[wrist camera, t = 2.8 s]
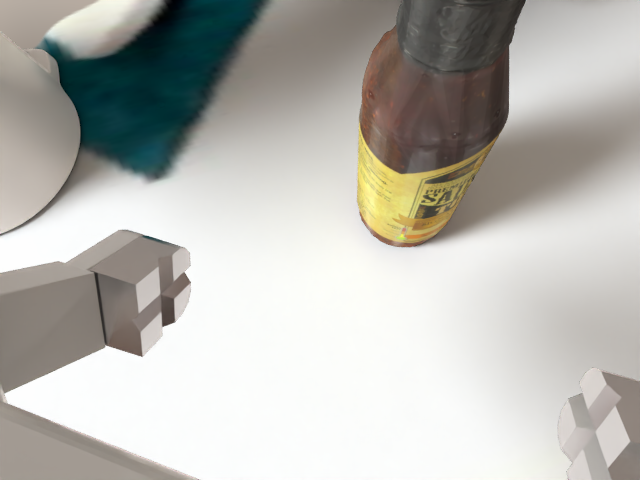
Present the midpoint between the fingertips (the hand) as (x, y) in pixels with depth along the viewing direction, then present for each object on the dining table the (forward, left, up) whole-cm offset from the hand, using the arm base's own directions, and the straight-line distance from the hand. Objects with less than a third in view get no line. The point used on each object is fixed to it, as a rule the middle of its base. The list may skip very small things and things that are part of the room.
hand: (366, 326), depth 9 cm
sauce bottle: (0, +10, -19) cm, 22 cm away
